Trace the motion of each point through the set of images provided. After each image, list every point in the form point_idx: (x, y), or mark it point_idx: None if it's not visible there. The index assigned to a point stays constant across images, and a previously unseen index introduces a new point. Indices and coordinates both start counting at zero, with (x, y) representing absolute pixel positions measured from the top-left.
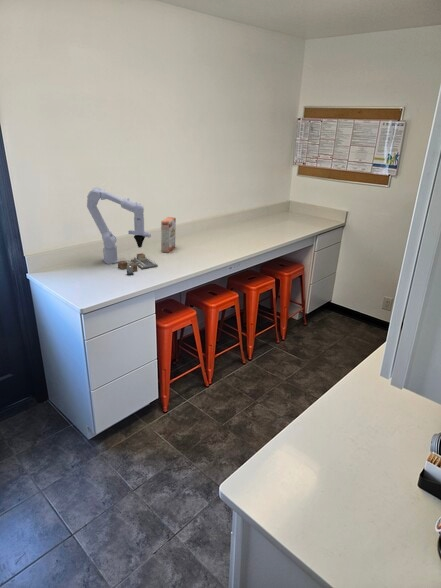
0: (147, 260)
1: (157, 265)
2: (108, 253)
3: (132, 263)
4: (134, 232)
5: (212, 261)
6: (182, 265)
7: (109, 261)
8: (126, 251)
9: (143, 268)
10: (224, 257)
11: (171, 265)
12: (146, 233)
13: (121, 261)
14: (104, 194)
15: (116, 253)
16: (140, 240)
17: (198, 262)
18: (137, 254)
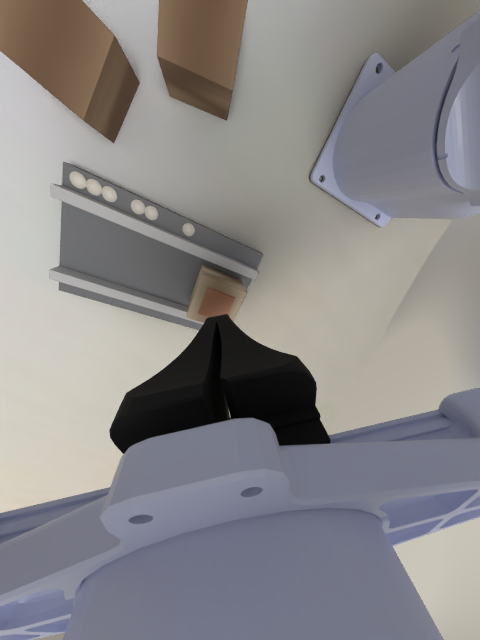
0: (173, 303)
1: (60, 287)
2: (459, 25)
3: (77, 52)
4: (368, 511)
5: (5, 471)
6: (14, 382)
7: (374, 88)
8: (366, 338)
9: (68, 177)
10: (32, 503)
11: (45, 349)
12: (17, 632)
13: (223, 19)
14: None
15: (378, 154)
16: (161, 370)
17: (22, 439)
18: (233, 288)
